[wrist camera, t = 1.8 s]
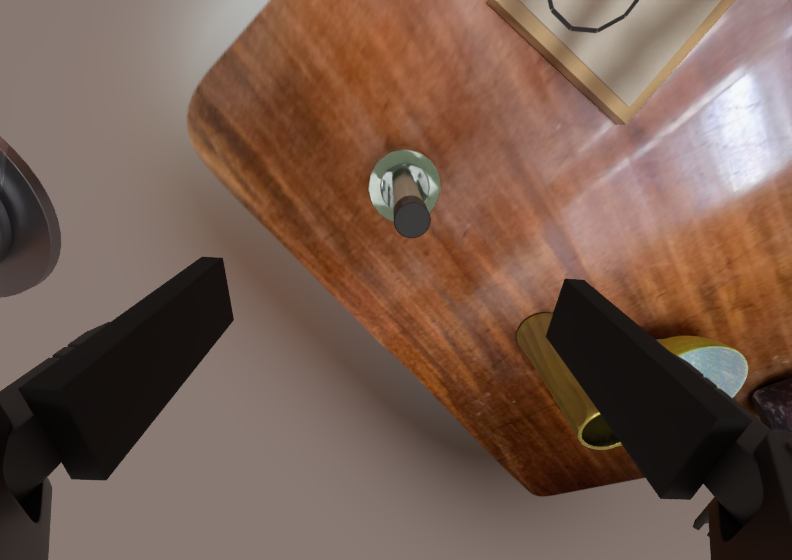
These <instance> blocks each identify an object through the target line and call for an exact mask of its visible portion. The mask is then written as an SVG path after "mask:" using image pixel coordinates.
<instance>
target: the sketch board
mask: <svg viewBox="0 0 792 560" xmlns="http://www.w3.org/2000/svg"><path fill="white" fill-rule="evenodd" d="M734 1H735V0H488V1H487V4H488V5H489V6H490V7H491V8H493V9H494V10H495V11H496V12H497V13H498V14H499V15H500V16H501V17H502V18H503V19H504V20H505V21H506V22H507V23H509V24H510V25H511V26H512V27H513V28H514V29H515V30H516V31H517V32H518V33H519V34H520V35H521V36H522V37H524V38H525V39H526V40H527V41H528V42H529V43H530V44H531V45H532V46H533V47H534V48H535V49H536V50H537V51H538V52H540V53H541V54H542V55H543V56H544V57H545V58H546V59H547V60H548V61H549V62H550V63H551V64H552V65H553V66H554V67H556V68H557V69H558V70H559V71H560V72H561V73H562V74H563V75H564V76H565V77H566V78H567V79H568V80H569V81H570V82H572V83H573V84H574V85H575V86H576V87H577V88H578V89H579V90H580V91H581V92H582V93H583V94H584V95H585V96H587V97H588V98H589V99H590V100H591V101H592V102H593V103H594V104H595V105H596V106H597V107H598V108H599V109H600V110H601V111H603V112H604V113H605V114H606V115H607V116H608V117H609V118H610V119H611V120H612V121H613V122H614V123H615V124H627V123H628V122H629V121H630V120H631V119H632V118H633V116H634V115H635V114H636V113H637V112H638V111H639V110H640V108H641V107H642V106H643V105H644V104H645V103H646V102H647V100H648V99H649V98H650V97H651V96H652V95H653V94H654V92H655V91H656V90H657V89H658V88H659V87H660V86H661V84H662V83H663V82H664V81H665V80H666V79H667V78H668V76H669V75H670V74H671V73H672V72H673V71H674V70H675V68H676V67H677V66H678V65H679V64H680V63H681V62H682V60H683V59H684V58H685V57H686V56H687V55H688V54H689V52H690V51H691V50H692V49H693V48H694V47H695V46H696V44H697V43H698V42H699V41H700V40H701V39H702V38H703V37H704V35H705V34H706V33H707V32H708V31H709V30H710V29H711V27H712V26H713V25H714V24H715V23H716V22H717V21H718V19H719V18H720V17H721V16H722V15H723V14H724V13H725V11H726V10H727V9H728V8H729V7H730V6H731V5H732V3H733V2H734Z"/></svg>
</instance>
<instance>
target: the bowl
mask: <svg viewBox="0 0 792 560" xmlns="http://www.w3.org/2000/svg"><path fill="white" fill-rule="evenodd" d="M656 340H657V341H658V342H659V343H660V344H661V345H663V346H664V347H665V348H666V349H667V350H669V351H670V352H672V353H673V354H675V355H677V356H679V357H680V358H682V359H684V360H686V361H687V362H689V363H690V364H691V365H692V366H694V367H695V368H696V369H697V370H699V371H700V372H701V373H702V374H703V376H704V377H707V378H708V379H710V380H711V381H712V382H713V383H714V384H716V385H717V388H720V389H722V390H723V391H724V392H725V393H727V394H728V395H729V396H730V397H732V398H733V397H734V396H735V395H736V394H737V393H738V391H739V390H740V389H741V387H742V386H743V384H744V382H745V380H746V377H747V374H748V365H747V361H746V359H745V357H744V356H743V355H742V354H741V353H740V352H738V351H737V350H735V349H733V348H731V347H729V346H727V345H725V344H723V343H720V342H718V341H715V340H712V339H708V338H704V337H698V336H675V337H670V338H666V339H656Z"/></svg>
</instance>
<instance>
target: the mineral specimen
mask: <svg viewBox="0 0 792 560" xmlns="http://www.w3.org/2000/svg"><path fill="white" fill-rule="evenodd" d="M753 403H754V406H755V408H756V411H757V413H758V415H759V417H760V419H761V421H762V423H763V424H765V425H766V426H767V427H768V428H770V429H771V430H772V431H773V430H783V431H789V432H792V378H788V379H785V380H783V381H780V382H777V383H774V384H772V385H769V386H767V387H764V388H762V389H759V390H757V391H756V392H755V393H754V394H753Z"/></svg>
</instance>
